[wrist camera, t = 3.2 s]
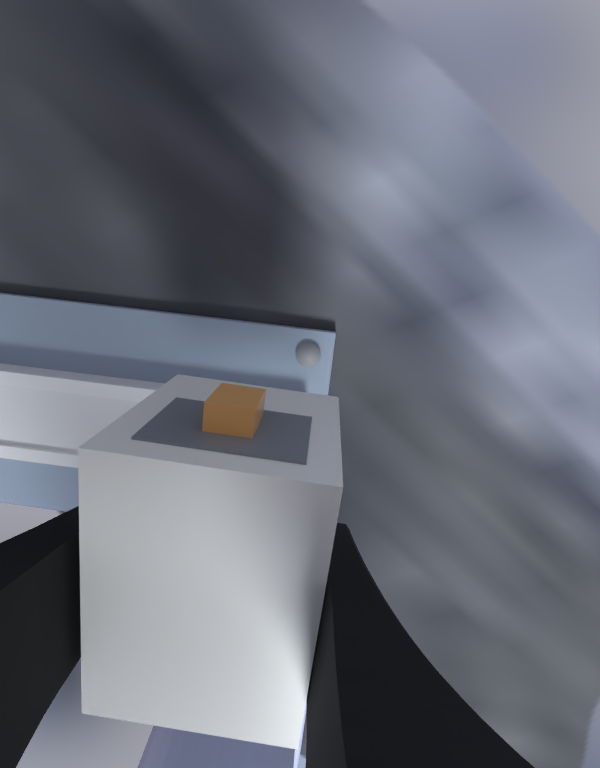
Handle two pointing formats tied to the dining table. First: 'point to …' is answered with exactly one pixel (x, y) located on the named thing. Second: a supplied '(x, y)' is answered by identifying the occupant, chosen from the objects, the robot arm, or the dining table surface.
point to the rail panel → (120, 377)
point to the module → (208, 557)
